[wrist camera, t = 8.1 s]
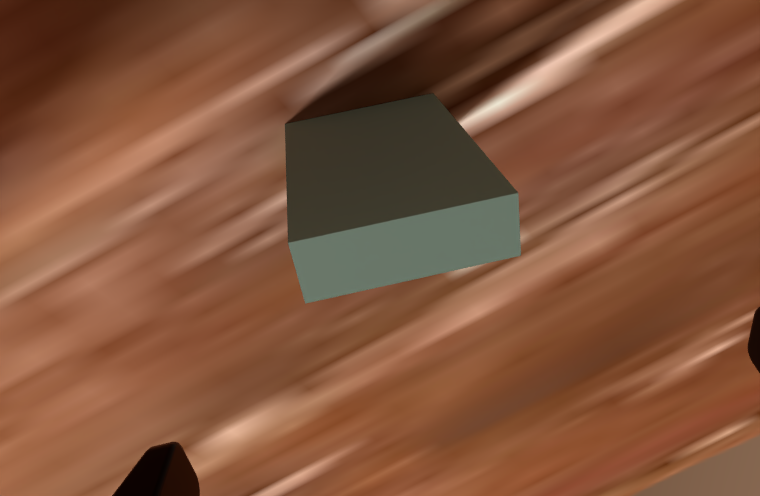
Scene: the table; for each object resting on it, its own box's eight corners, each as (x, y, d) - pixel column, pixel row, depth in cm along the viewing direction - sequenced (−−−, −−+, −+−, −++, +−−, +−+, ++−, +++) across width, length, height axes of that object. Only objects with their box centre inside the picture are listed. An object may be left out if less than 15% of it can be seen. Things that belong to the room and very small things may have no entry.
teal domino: (438, 138, 20) (520, 255, 13) (296, 168, 20) (305, 303, 13) (433, 92, 19) (518, 193, 12) (285, 123, 19) (288, 242, 12)
